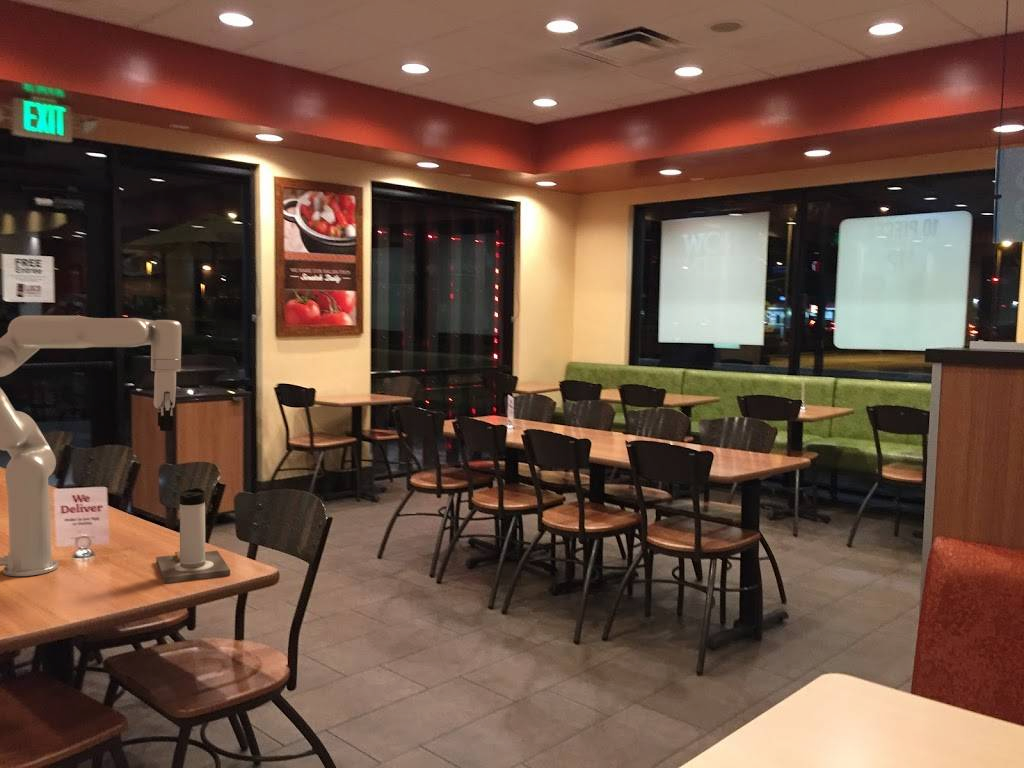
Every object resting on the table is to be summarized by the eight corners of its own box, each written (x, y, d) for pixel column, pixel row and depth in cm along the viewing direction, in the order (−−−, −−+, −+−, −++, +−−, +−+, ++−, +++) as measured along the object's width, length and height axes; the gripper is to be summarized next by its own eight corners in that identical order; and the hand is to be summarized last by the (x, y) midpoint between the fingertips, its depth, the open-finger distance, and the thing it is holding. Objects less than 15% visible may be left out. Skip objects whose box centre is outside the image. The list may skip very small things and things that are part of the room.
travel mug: (210, 562, 225) (209, 488, 224) (198, 569, 219) (198, 493, 217) (187, 560, 226) (187, 487, 224) (175, 568, 219) (174, 492, 218)
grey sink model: (164, 583, 212) (164, 561, 212) (156, 562, 230) (156, 541, 230) (230, 575, 220) (230, 554, 220) (217, 555, 238) (217, 535, 238)
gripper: (149, 363, 234) (148, 424, 235) (152, 367, 218) (151, 432, 219) (178, 364, 237) (177, 424, 238) (183, 367, 222) (182, 432, 223)
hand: (165, 428), depth 229 cm, fingers open, 9 cm apart
